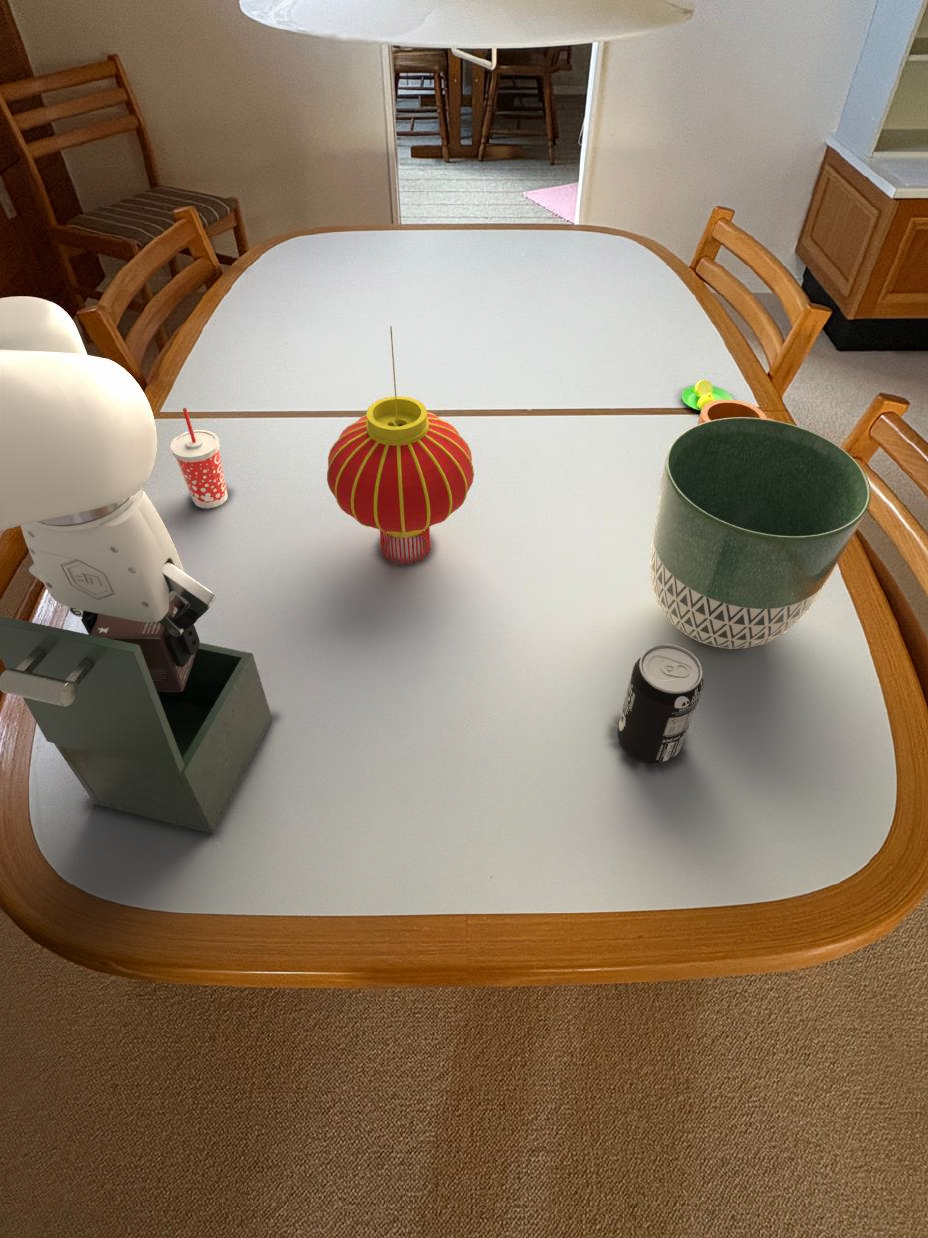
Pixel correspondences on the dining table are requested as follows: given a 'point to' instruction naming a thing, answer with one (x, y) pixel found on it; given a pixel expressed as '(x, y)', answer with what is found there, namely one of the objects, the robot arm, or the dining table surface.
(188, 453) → the beverage cup
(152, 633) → the box
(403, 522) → the lantern
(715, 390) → the green dish
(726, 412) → the mug
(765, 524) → the planter
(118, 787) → the green open box
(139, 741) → the bin lid
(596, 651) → the dining table surface
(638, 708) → the beverage can
